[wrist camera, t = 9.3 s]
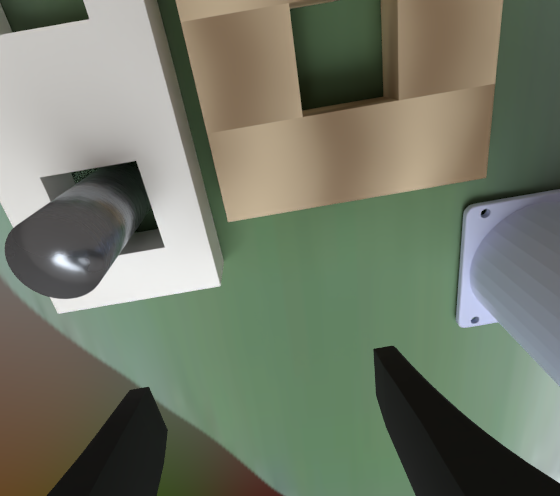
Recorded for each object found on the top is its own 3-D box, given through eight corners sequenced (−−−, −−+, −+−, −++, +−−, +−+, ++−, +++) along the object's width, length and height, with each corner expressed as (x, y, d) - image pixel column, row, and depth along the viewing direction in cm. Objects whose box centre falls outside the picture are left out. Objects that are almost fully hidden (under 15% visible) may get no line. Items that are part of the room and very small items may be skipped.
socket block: (485, -157, 14) (521, -191, 12) (463, 166, 19) (486, 177, 17) (160, -99, 14) (146, -123, 12) (230, 207, 19) (228, 222, 17)
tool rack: (103, -212, 12) (70, -273, 10) (223, 261, 20) (220, 285, 18) (-135, -169, 12) (-220, -220, 10) (79, 286, 20) (58, 313, 18)
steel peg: (144, 158, 18) (86, 211, 11) (159, 217, 19) (115, 293, 13) (81, 166, 18) (-13, 222, 11) (100, 224, 19) (27, 303, 13)
